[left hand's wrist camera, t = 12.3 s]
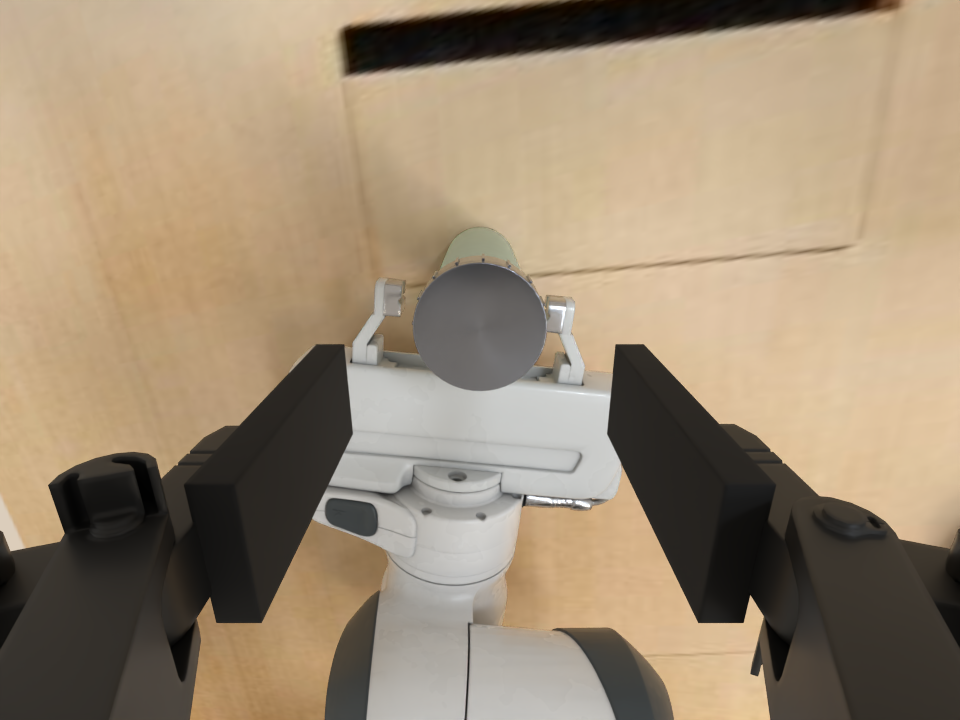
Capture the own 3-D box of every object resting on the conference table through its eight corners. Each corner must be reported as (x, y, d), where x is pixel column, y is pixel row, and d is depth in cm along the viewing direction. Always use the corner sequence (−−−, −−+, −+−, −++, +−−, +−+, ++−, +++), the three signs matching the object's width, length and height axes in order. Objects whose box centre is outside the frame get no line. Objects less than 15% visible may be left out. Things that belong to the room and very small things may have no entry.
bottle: (504, 302, 35) (520, 391, 21) (439, 286, 35) (410, 366, 20) (522, 236, 33) (552, 284, 19) (454, 219, 33) (435, 254, 19)
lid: (523, 387, 22) (527, 404, 21) (405, 360, 22) (399, 376, 20) (558, 271, 20) (565, 280, 19) (431, 240, 20) (427, 245, 18)
